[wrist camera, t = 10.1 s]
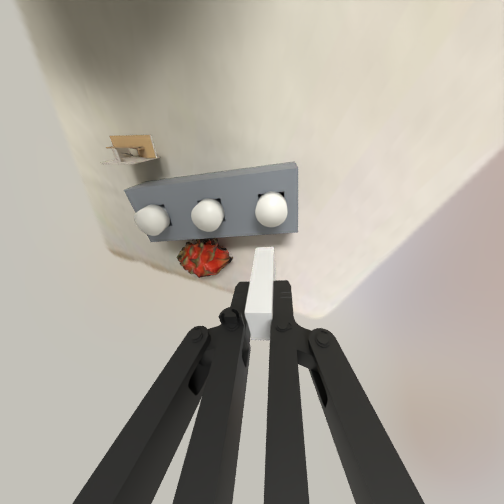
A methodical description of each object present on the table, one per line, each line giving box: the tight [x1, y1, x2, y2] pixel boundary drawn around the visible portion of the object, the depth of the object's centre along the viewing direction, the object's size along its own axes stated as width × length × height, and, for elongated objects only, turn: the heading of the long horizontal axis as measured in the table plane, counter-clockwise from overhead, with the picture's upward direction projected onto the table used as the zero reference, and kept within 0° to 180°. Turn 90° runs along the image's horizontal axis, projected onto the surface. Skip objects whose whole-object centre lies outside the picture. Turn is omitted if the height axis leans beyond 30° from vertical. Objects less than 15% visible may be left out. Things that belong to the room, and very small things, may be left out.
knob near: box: [255, 192, 287, 227], centre depth 29 cm, size 5×5×8 cm
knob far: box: [134, 204, 170, 236], centre depth 32 cm, size 5×5×8 cm
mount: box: [124, 162, 298, 242], centre depth 32 cm, size 10×28×6 cm, turn 98°
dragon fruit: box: [177, 238, 233, 277], centre depth 39 cm, size 8×8×12 cm
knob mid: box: [191, 198, 225, 232], centre depth 31 cm, size 5×5×8 cm
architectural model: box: [100, 135, 160, 164], centre depth 28 cm, size 3×7×7 cm, turn 91°
